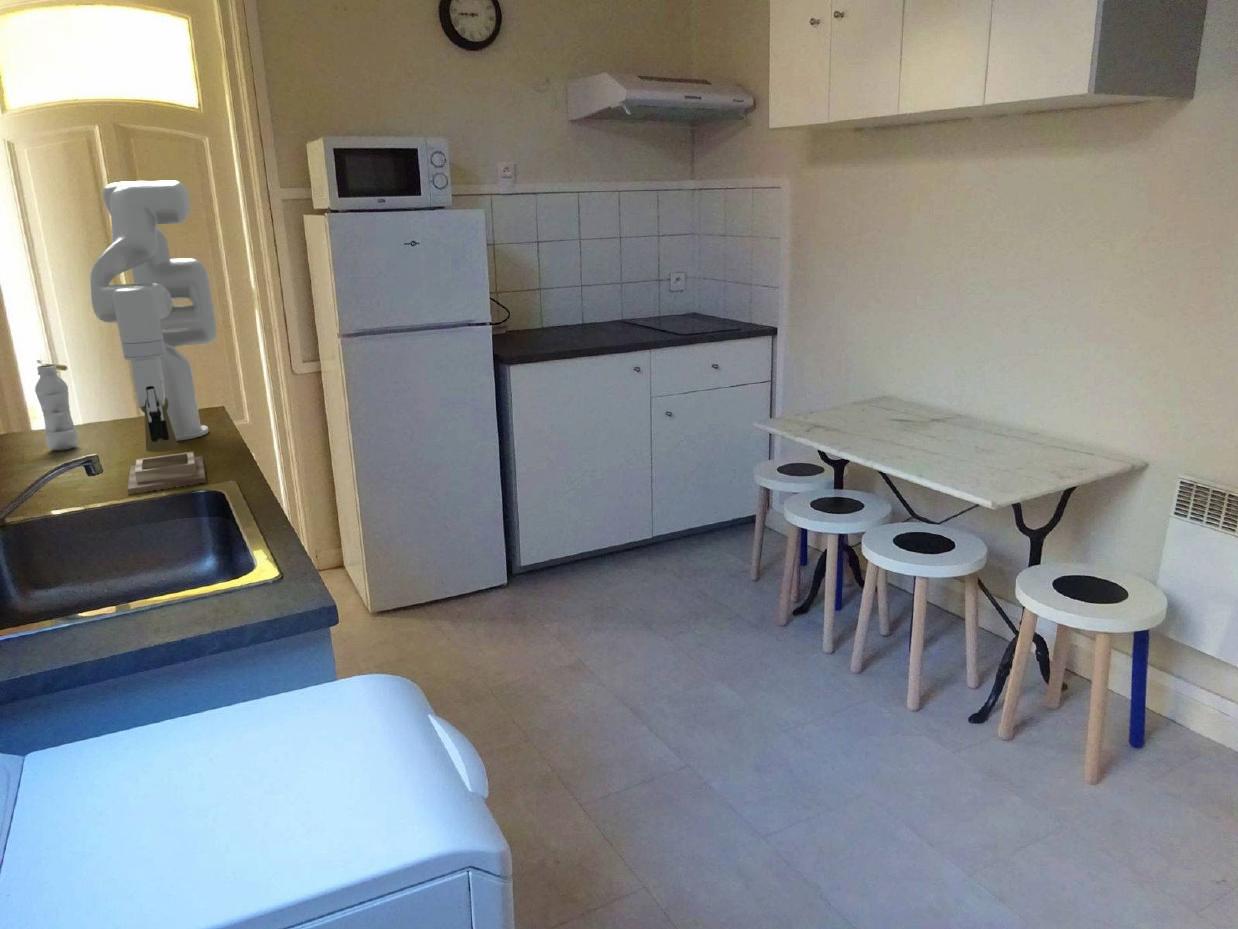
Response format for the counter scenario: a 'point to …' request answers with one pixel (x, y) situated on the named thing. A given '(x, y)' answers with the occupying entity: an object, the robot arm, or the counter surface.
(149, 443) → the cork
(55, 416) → the plastic bottle
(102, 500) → the counter surface
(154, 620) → the counter surface
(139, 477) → the socket board
